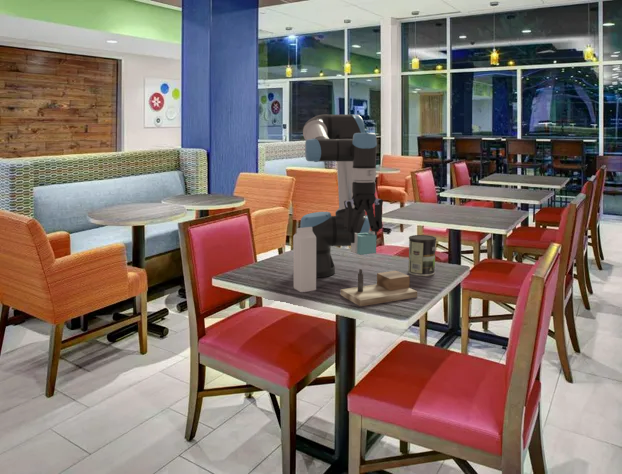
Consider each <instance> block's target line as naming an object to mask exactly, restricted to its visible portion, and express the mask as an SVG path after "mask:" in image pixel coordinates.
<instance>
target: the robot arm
mask: <svg viewBox="0 0 622 474" xmlns="http://www.w3.org/2000/svg"><path fill="white" fill-rule="evenodd" d="M364 122H365V121H364V120H363V118H362V116H360V114H352V113H348V114H326V113H325V114H319V115H316V116H314V117H312V118H309V120H307V121H306V122H305V124H304V126H303V128H302V134H303V138H304V140H305V143H304V151H305V152H304V155H305V160H306V161H307V162H313V163H318V162H319V163H320V162H323V163H325V162H337V165H336V167H337V186H338V189H337V190H338V193H337V194H338V208H337V209H336V211H335V215H332V213H331V212H330V211H317V212H316V211H315V212H312V213H307V214H304V215H303V216H302V217H301V218H300V225H299V226H300V227H299V228H304V227H312V231H313V233H314V234H315V236H316V278H325V277H329V276H333V275H334V274H336V273H335V272H336V266H335V263H334V260H333V257H332V253H331V252H332V251H331V247H350V252H351V253H354V254H356V253H357V243H358V233H370V234H374V235H376V241H377V239H378V237H377V236H378V234H377V233H378V232H379V231H380V230H382V229H383V210H382V209H383V207H382V206H383V204H384V200H383V199H381V198H376V195H375V194H376V191H377V190H376V189H377V187H376V184H377V183H376V179H377V177H376V176H377V166H376V165H377V145H378V143H377V134H376V133H375V132H366V128H365V123H364ZM373 205H374V206H373Z"/></svg>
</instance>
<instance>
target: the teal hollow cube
mask: <svg viewBox="0 0 622 474" xmlns="http://www.w3.org/2000/svg"><path fill="white" fill-rule="evenodd" d="M355 254H356V255H359V256H362V255H371V254H377V240H376V235H374V234H370V233H358V243H357V253H355Z"/></svg>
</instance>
